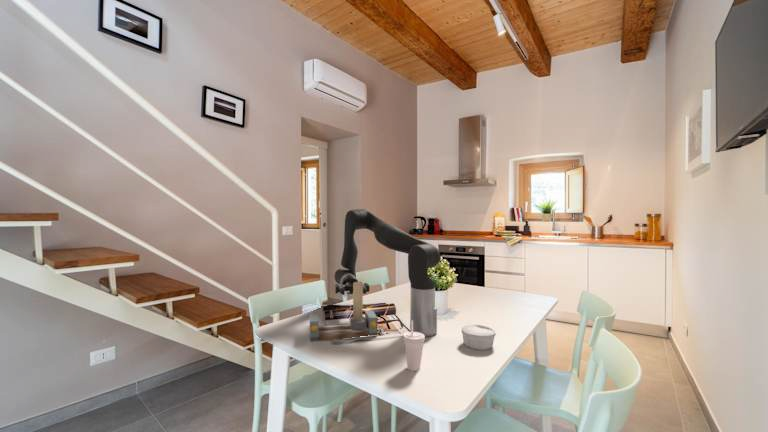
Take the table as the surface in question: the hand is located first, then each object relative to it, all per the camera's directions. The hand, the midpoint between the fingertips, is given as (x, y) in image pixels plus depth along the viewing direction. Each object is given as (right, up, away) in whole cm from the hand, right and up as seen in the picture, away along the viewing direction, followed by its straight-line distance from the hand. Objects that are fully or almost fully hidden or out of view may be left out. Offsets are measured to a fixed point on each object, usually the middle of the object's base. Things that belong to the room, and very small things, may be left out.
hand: (354, 292), depth 139 cm
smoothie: (+21, -14, -38) cm, 45 cm away
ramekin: (+44, -14, -20) cm, 51 cm away
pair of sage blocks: (-3, -13, -11) cm, 18 cm away
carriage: (+2, -10, -10) cm, 15 cm away
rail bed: (-3, -13, -11) cm, 18 cm away
